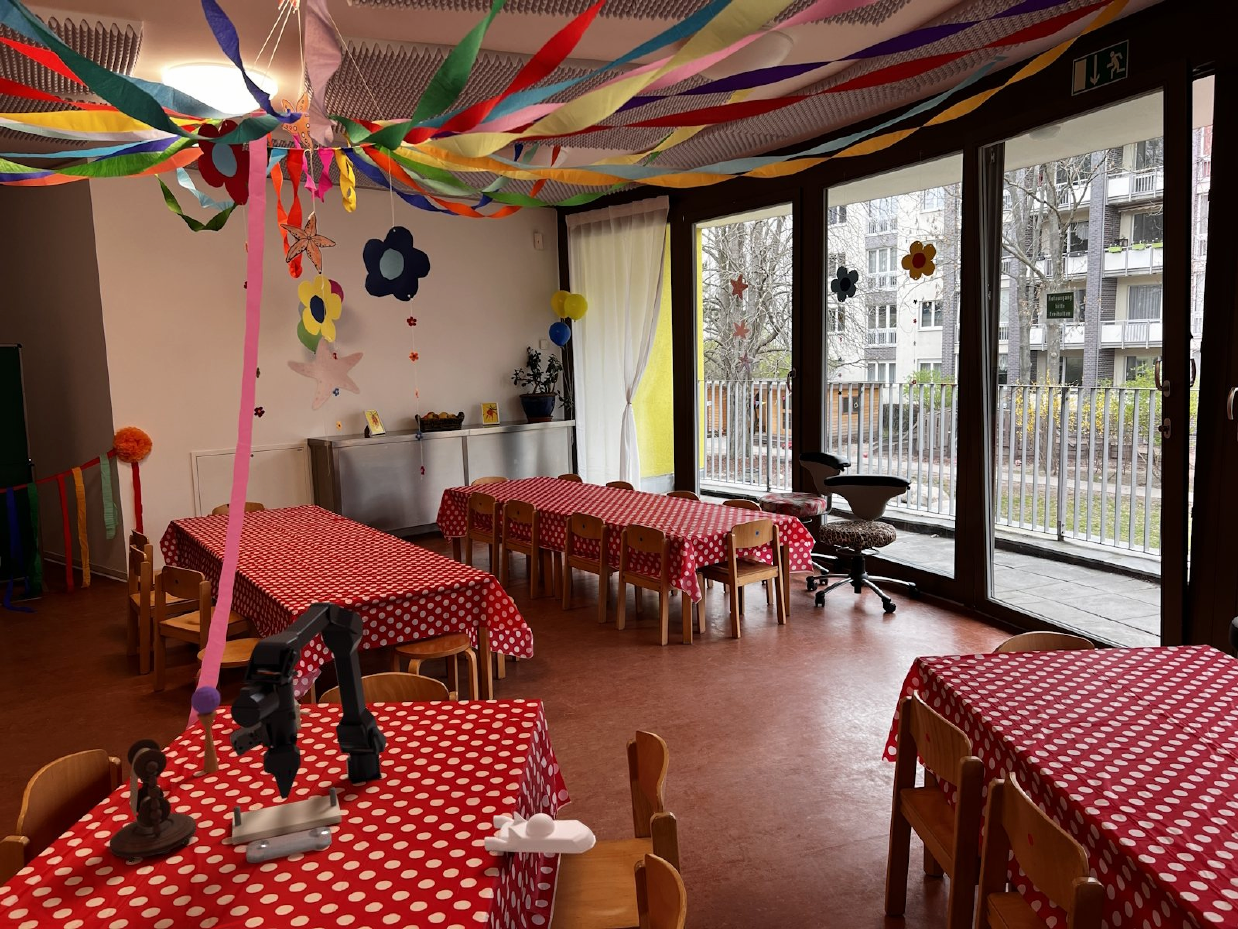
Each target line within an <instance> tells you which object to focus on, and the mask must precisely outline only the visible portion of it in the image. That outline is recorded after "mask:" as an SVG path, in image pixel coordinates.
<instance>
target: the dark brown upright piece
mask: <svg viewBox="0 0 1238 929" xmlns="http://www.w3.org/2000/svg"><path fill="white" fill-rule="evenodd" d="M127 761H128V763H129V765H130V766H131V770H130V782H129V791H130V792H129V801H130V803H129V805H130V808H131V809H130V810H131V812H132V814H133V817H134V818H135V820H134V821H132V822H130V823H128V824H126V825H125V826H122V828H120V829H119V830H117V831H116V832H115V833H114V834H112V836H111V837H110V840H109V850H110V853H112V854H113V855H114V856H116V857H119V858H127V861H128V863H129V862H131V863H133V862H135V858H145V857H150V856H155V855H158V854H161V853H165V852H167V851H169V850H173V849H175V848H177V847H179V846H181V845H182V844H183V845H184V846H185V847H187V846H189V843H190V838H192V837H193V836H194V834H195V833H196V830H197V825H196V824H197V823H196V820H195V818H194V817H192V816H191V815H189V814H184V813H180V812H171V811H172V805H171V802H170V800H169V799H167V798H165V793H164V790H163V789H162V788H161V787H160V785H158V782H159V781H158V778H159V777H160V776H161V774H162V773H163V772H164V771H165V770H166V767H167V764H168V763H167V762H168V759H167V756H166V754H165V752H163V751H162V750H161V748H160V745H159V743H158V742H157V741H155V740H153V739H151V738H143V739H139V740H137V741H135V742H134V743H133V744H132V745H131V746H130V747H129V749H128V752H127ZM139 780H140V782H141V787H140V788H139Z"/></svg>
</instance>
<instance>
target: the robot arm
mask: <svg viewBox="0 0 1238 929" xmlns="http://www.w3.org/2000/svg"><path fill="white" fill-rule="evenodd" d="M363 629H364V620H363V619H362V616H361V614H360V613H358V612H356V611H352V610H349V609H346V608H344V607H341V606H339V605H338V604H337V603H334V602H332V601H330V602H325V601H322V602H321V601H320V602H319V601H316V602H313V603H310V605H309V606H308V609H306V611H305V612H304V613H302V614H301V615H299V616H298V618H296V619H295V621H293V622H292V623H291V624H290V625H289V626H288V627H286V628H285V629H284V630H283V631H281V632H280V633H275V634H272V635H269V636H267V637H265V638H262V639H261V640H259V641H258V642H257V643H256V644H255V646H254V647H253V649H252V651H251V654H250V658H249V661H248V664H247V667H246V670H245V673H244V676H243V680H242V683H243V684H246V685H247V684H249V685H248V686H244V687H242V688H240V689H239V696H238V697H237V698H235V699H234V701H232V703H231V707H230V714H231V718H232V720H233V721H234V723H235V724H237V725H238V727H241V728H239V729H238V730H237V729H236V731H234V732H232V733H231V734H230V738H229V740H230V741H229V742H230V744H231V745H232V750H233V752H235V754H236V755H237V757H241V756H242V755H243V756H244V755H245V754H246V752H249V751H251V750H253V749H255V748H257V747H258V746H260V745H261V744H262V748H267V750H265V752H264V753H263V754H262V756H263V758H262V759H263V772H265V773H266V774H268V775H269V774H270V775H272V776H273V777H274V779H275V783H276V785H277V789H278V792H279V794H280V798H281V799H283V800H284V799H288V797H289V796H290V793H291V789H292V788H293V785H294V783H295V779H296V777H297V774H298V772H299V769H300V768H301V765H302V757H301V748H300V747H298V746H297V742H298V730H297V723H296V713H295V701H294V698H295V688H294V687H295V686H294V679H295V677H297V676H299V671H297V670H296V669H295V668H296V666H297V665H298V663H299V662H300V661H301V660H302V651H303V649H304V648H305V647H306V646H307V645H308V644H309V643H310V642H311V641H312V640H313V639H314V638H315V637H316V636H317V635H319V633H320V634H321V640H322V642H323V645H324V646H325V647H326V648H327V649H328V650H329V651H330V653H331V654H332V656H333V661H334V666H335V671H336V678H337V683H338V684H337V685H338V689H339V698H340V702H341V709H342V716H341V718H340V720H339V722H338V724H337V725H336V726H335V732H336V737H337V739H336V740H337V741H336V742H337V743H338V746H339V748H340V753H341V754H348V757H346V771H347V779H348V780H349V781H350V783H351V784H352V785H356V784H362V783H367V782H370V781H376V780H382V778H383V776H382V773H381V760H380V758H381V757H380V753H381V754H382V753H383V752H386V750H385V748H386V747H387V746H386V745H387V736H386V735H385V734H384V733H383V732H382V731H381V729H380V728H379V727H378V724H377V719H376V716H375V715H374V714H373V713H372V712H371V711H370V710H369V709H368V707H367V705H366V698H365V692H364V684H363V679H362V673H361V667H360V666H361V665H360V659H359V654H358V646H359V644H360V642H361V640H362V638H363V634H364V633H363Z"/></svg>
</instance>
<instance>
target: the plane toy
mask: <svg viewBox="0 0 1238 929" xmlns="http://www.w3.org/2000/svg"><path fill="white" fill-rule="evenodd" d="M493 826H494V828H495V829H500V830H499V833H498V835H497V837H496V836H485V837H484V841H483V842H484V843H483V844H484V848H485V850H486V851H499V852H512V853H513V852H514V853H540V854H541V853H542V854H543V853H546V854H582V853H584V852H587V851H588V850H591V849H592V848H594V846H595V844H596V842H597V840H596V835H595V834H594V833H593V831H592V830H591V828H589V827H588V826H587V825H585V824H583V823H582V822H581V821H580V820H578V819H569V820H566V819H565V820H553V818H552V817H551V816H550V815H548V814H547V813H542V812H540V813H536V814H534V815H532V816H531V817H530V818H529V820H527V819H524V818H523V817H522V816H521V815H520V813H518V811H513V818H511V817H507V816H506V815H493Z"/></svg>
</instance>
